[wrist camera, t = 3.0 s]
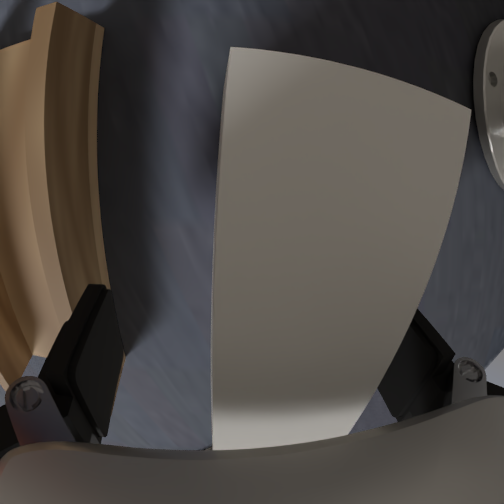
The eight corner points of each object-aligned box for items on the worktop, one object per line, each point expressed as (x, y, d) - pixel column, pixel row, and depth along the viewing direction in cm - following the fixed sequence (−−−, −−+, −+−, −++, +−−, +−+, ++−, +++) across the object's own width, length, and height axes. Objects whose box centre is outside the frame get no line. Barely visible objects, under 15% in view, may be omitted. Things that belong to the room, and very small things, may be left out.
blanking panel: (317, 99, 12) (471, 109, 4) (277, 350, 18) (308, 486, 10) (223, 88, 11) (231, 46, 3) (210, 350, 17) (214, 493, 9)
